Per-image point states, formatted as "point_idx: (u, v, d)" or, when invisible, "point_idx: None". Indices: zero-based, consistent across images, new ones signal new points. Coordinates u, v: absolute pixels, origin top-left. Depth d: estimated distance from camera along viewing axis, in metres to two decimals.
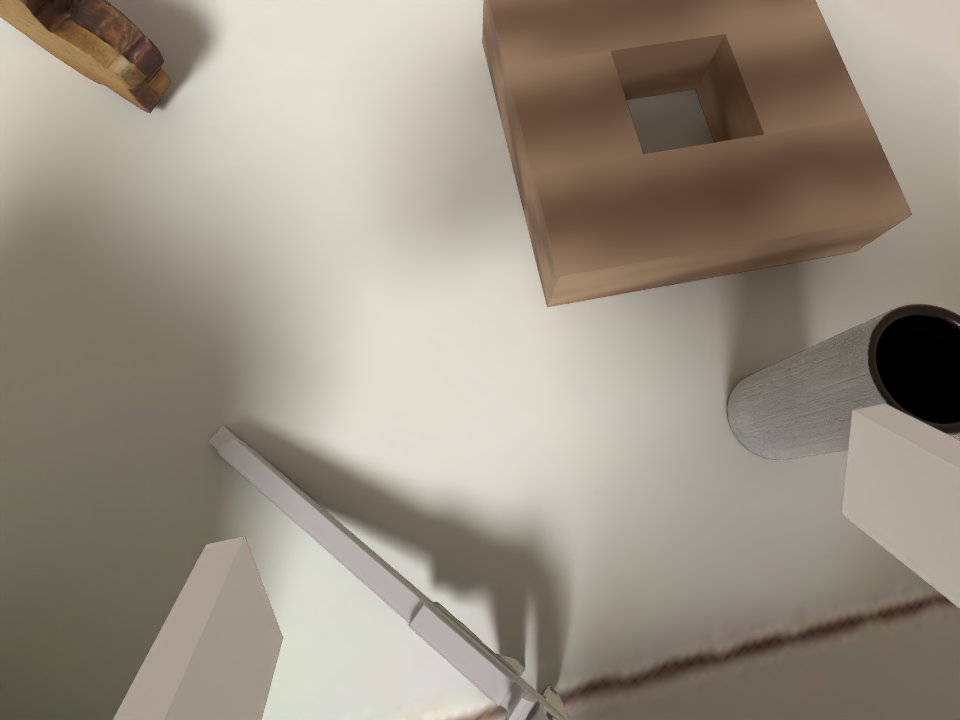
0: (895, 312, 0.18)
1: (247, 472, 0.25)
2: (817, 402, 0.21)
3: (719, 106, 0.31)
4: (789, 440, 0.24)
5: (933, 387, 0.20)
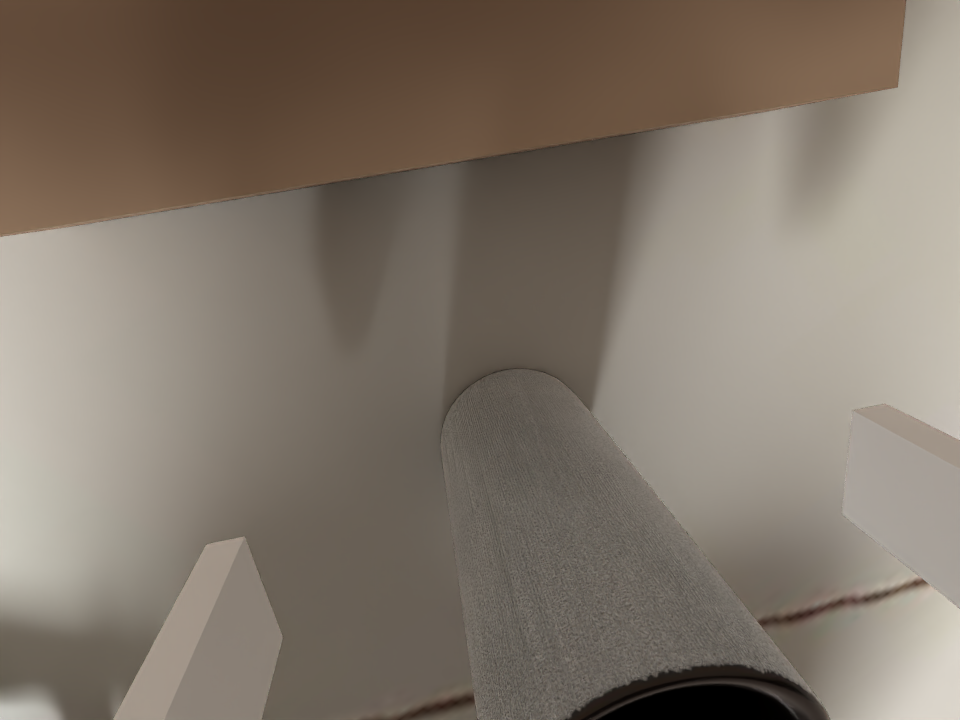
0: (615, 701, 0.06)
1: None
2: None
3: None
4: None
5: None
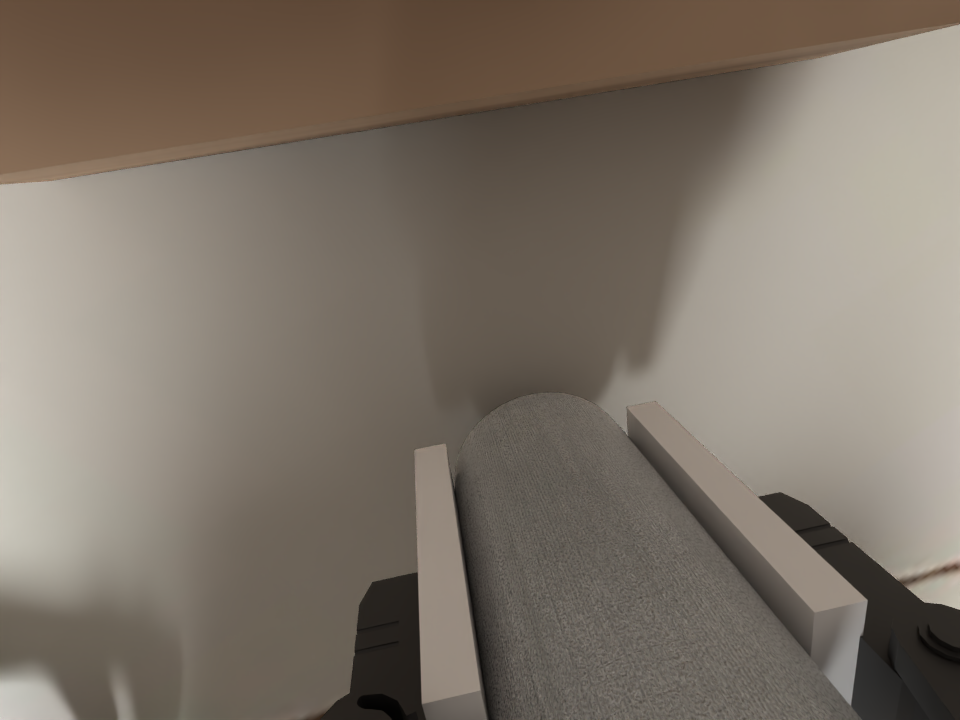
0: None
1: None
2: None
3: None
4: None
5: None
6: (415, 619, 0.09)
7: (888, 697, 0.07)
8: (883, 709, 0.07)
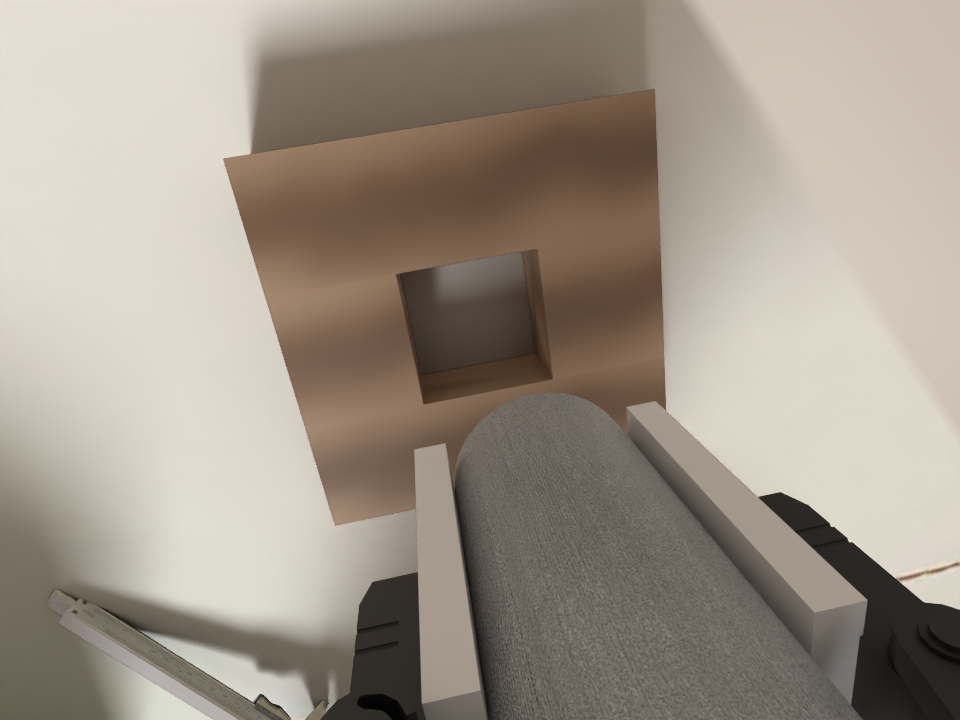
0: None
1: (87, 638, 0.31)
2: None
3: (532, 292, 0.28)
4: None
5: None
6: (415, 619, 0.09)
7: (888, 697, 0.07)
8: (883, 709, 0.07)
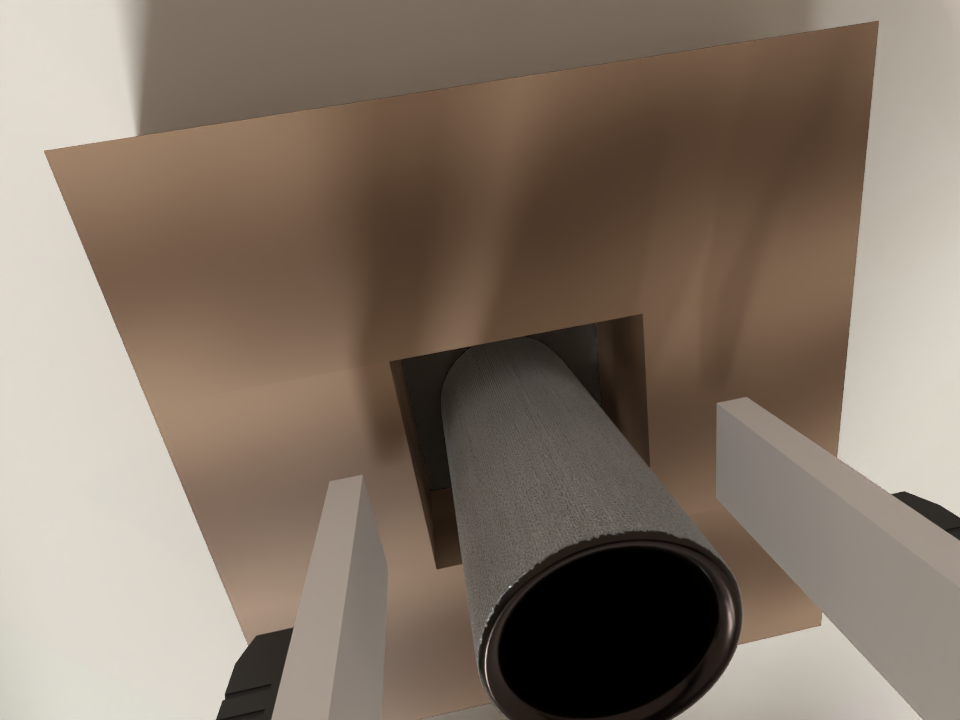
0: (567, 556, 0.08)
1: None
2: None
3: (613, 371, 0.17)
4: None
5: (656, 559, 0.11)
6: None
7: None
8: None
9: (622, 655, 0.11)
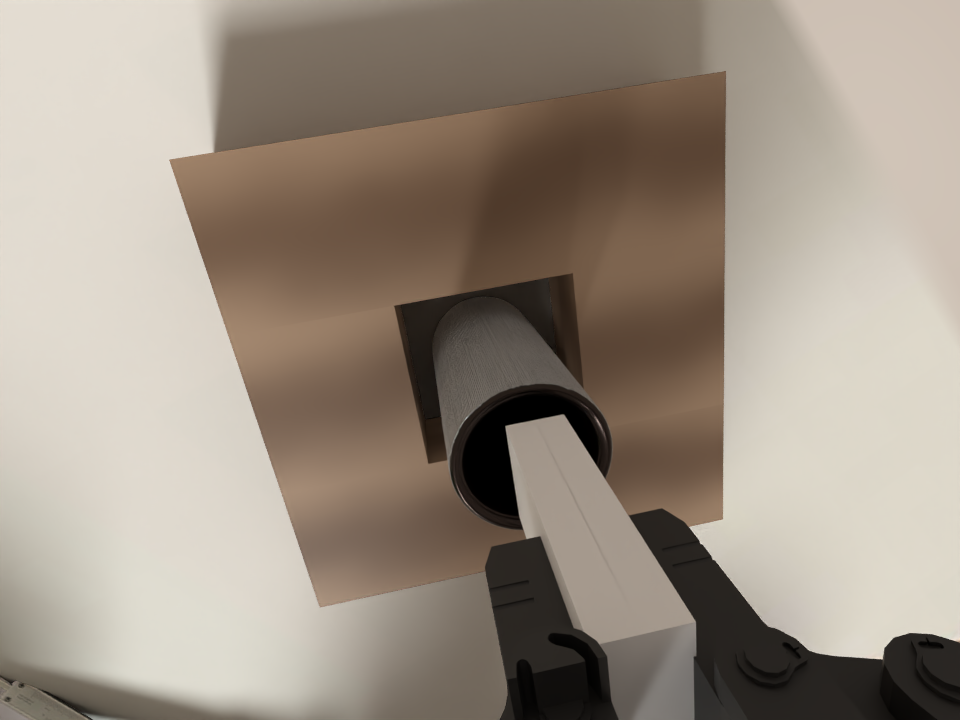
0: (500, 397, 0.14)
1: None
2: None
3: (561, 322, 0.23)
4: None
5: None
6: (545, 578, 0.09)
7: None
8: None
9: None
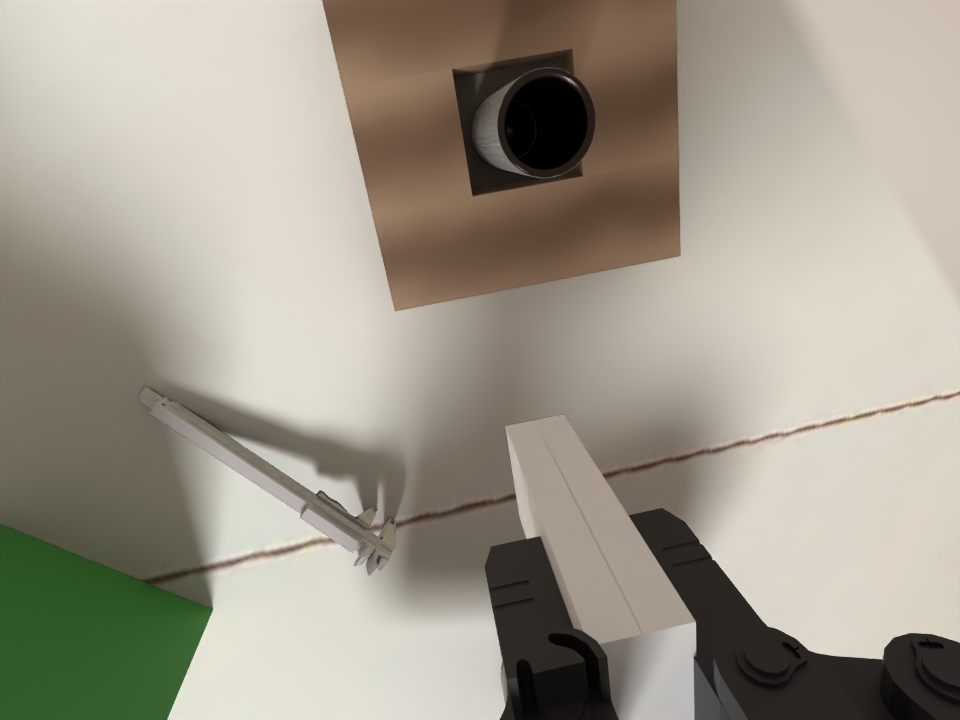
0: (528, 75, 0.23)
1: (175, 427, 0.36)
2: (488, 139, 0.27)
3: None
4: (492, 161, 0.30)
5: (571, 132, 0.26)
6: (545, 578, 0.09)
7: None
8: None
9: (555, 162, 0.26)
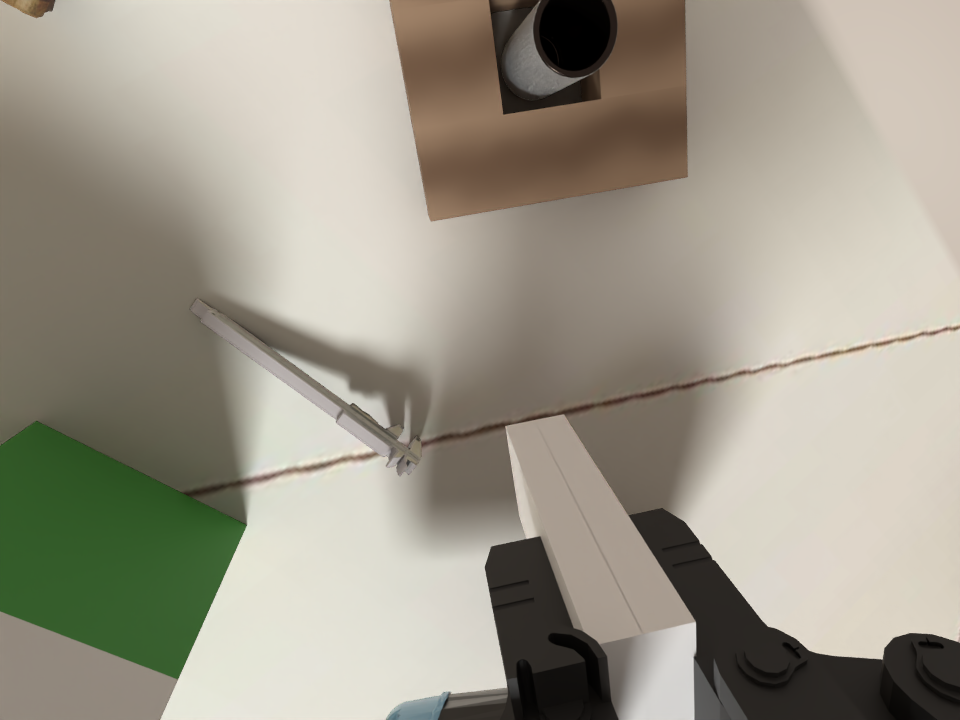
0: None
1: (223, 335, 0.39)
2: (522, 52, 0.30)
3: None
4: (521, 83, 0.34)
5: (594, 45, 0.30)
6: (545, 578, 0.09)
7: None
8: None
9: None
